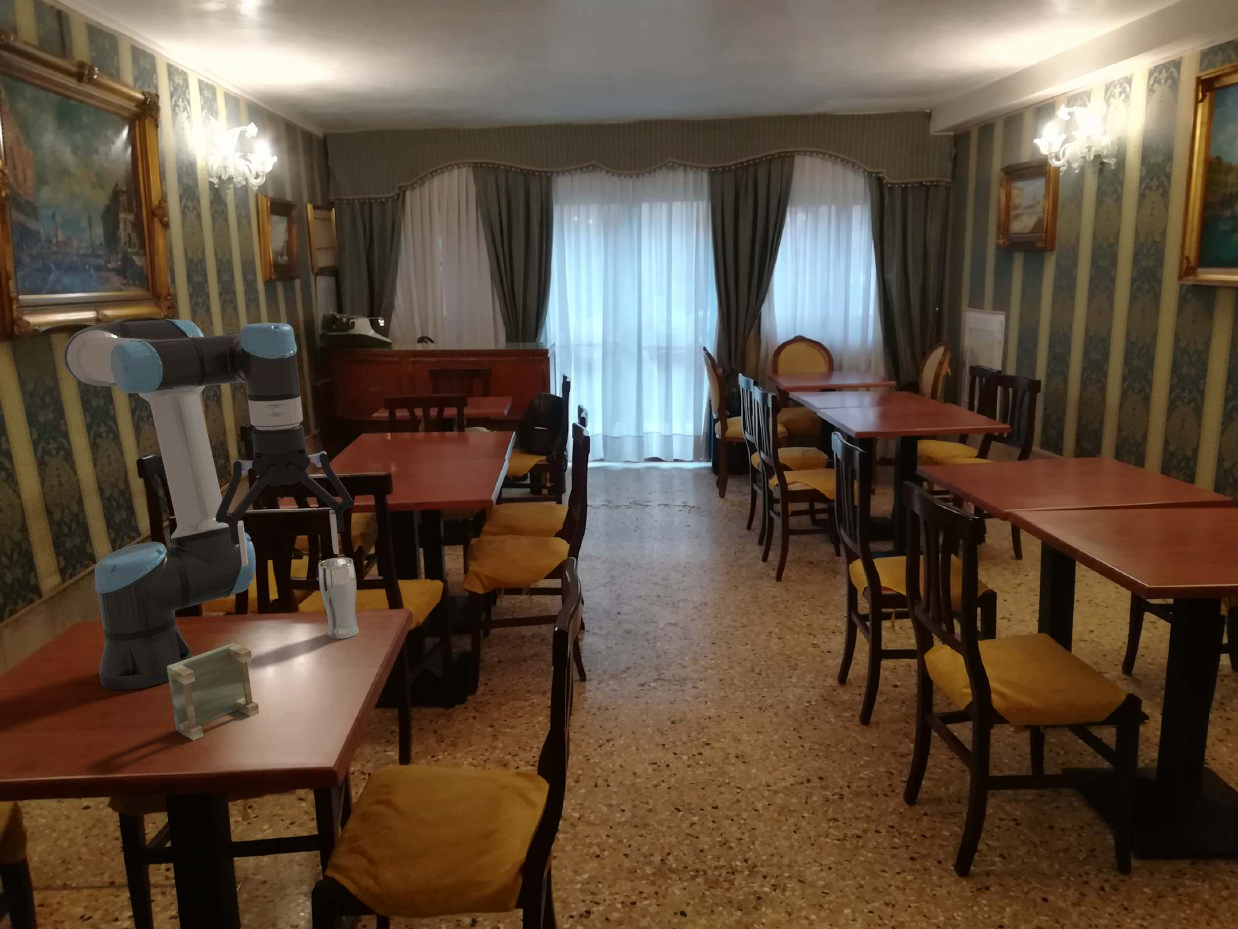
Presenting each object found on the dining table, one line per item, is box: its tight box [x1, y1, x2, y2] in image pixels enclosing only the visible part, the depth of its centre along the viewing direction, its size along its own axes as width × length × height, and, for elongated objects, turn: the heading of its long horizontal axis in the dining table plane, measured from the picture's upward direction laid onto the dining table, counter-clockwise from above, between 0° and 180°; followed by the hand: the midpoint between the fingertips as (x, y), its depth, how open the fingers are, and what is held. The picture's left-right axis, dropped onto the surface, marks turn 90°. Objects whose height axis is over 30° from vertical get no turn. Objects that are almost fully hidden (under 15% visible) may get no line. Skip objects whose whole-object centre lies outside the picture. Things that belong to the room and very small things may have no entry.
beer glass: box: [318, 557, 360, 640], centre depth 177 cm, size 7×7×15 cm
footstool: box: [167, 642, 260, 741], centre depth 143 cm, size 6×11×11 cm, turn 142°
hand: (291, 557), depth 141 cm, fingers open, 13 cm apart
